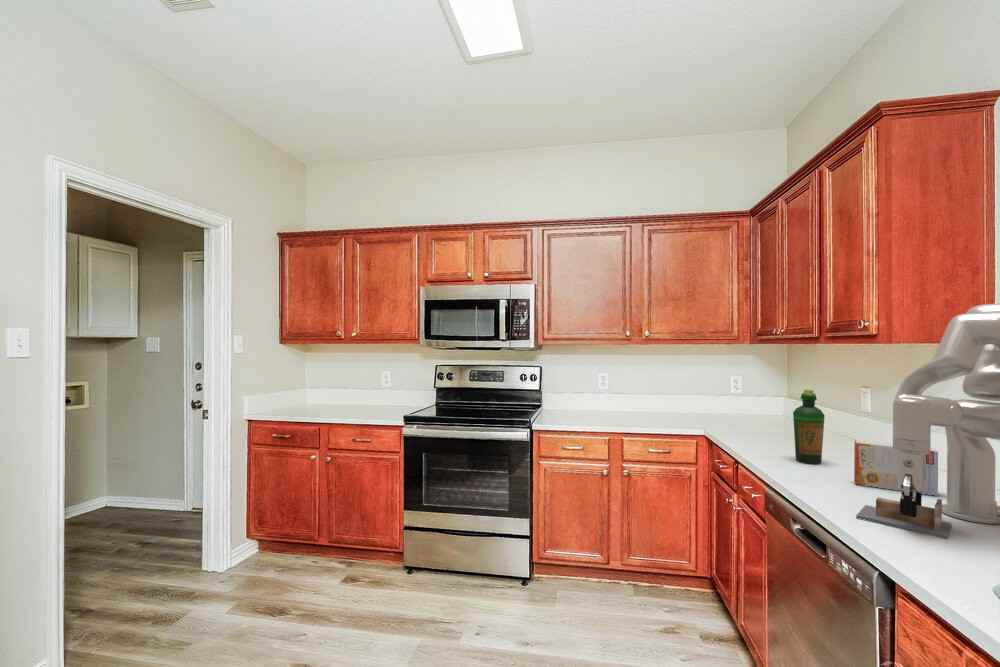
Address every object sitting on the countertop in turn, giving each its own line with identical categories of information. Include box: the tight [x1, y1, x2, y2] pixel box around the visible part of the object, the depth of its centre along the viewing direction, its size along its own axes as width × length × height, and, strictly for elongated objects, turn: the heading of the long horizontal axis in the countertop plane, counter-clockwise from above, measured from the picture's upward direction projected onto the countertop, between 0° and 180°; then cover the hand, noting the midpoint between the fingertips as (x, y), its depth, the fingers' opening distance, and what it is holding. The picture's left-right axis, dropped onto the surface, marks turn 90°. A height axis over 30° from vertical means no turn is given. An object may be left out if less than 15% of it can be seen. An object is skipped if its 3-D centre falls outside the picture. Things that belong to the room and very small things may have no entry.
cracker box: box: [853, 439, 939, 497], centre depth 158 cm, size 14×6×21 cm
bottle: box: [792, 389, 825, 465], centre depth 191 cm, size 11×11×28 cm
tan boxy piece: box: [875, 497, 943, 531], centre depth 128 cm, size 13×8×6 cm, turn 44°
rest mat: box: [855, 504, 952, 540], centre depth 128 cm, size 18×12×1 cm, turn 44°
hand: (910, 511), depth 127 cm, fingers open, 9 cm apart
